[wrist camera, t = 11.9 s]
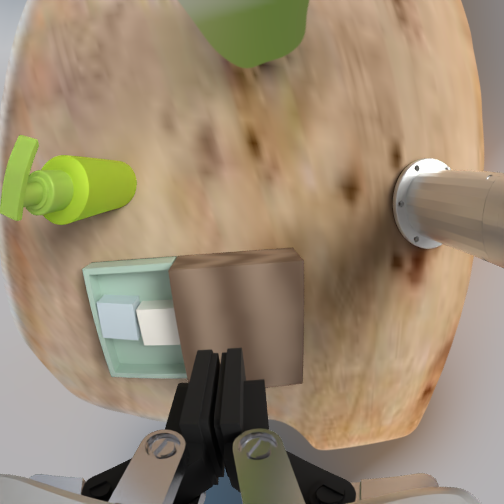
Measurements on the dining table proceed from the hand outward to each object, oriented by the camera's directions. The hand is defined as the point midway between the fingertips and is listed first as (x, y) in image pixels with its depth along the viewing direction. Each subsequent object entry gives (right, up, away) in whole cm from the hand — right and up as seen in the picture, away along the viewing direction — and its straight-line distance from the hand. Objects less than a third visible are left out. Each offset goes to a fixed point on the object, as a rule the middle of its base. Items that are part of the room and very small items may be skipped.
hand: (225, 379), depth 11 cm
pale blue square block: (-16, -4, +23) cm, 28 cm away
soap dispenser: (-16, +14, +23) cm, 31 cm away
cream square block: (-10, -4, +27) cm, 29 cm away
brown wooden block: (-1, -3, +28) cm, 28 cm away
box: (-14, -4, +27) cm, 30 cm away
